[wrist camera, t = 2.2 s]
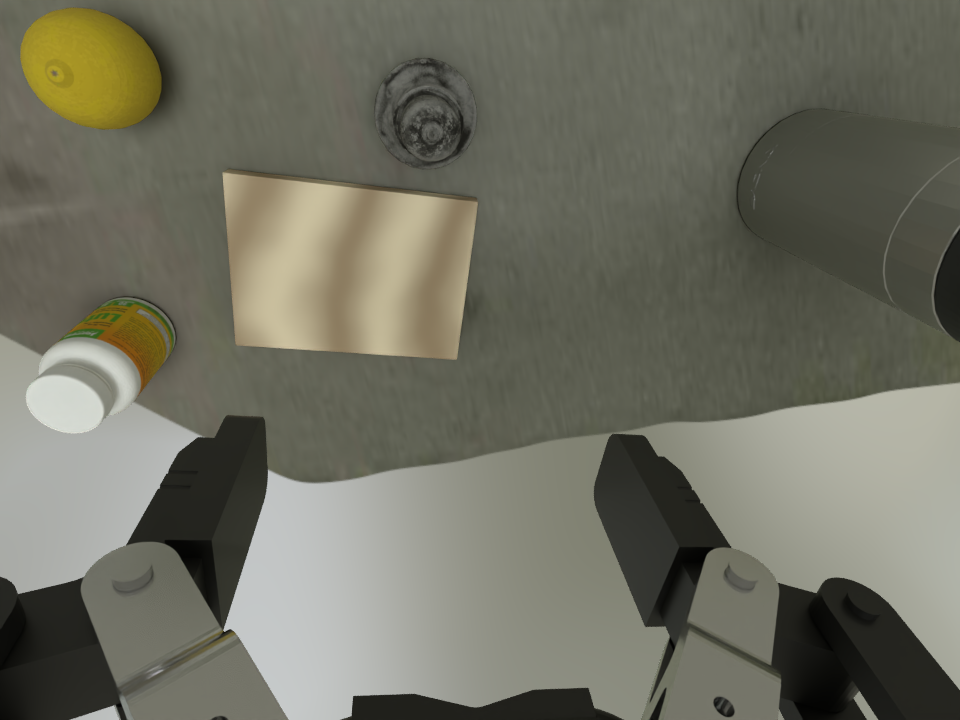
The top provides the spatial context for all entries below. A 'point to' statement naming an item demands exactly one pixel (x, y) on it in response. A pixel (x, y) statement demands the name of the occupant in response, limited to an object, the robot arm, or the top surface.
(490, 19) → the top surface
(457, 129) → the salt shaker
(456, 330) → the birch board
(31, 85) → the lemon
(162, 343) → the supplement bottle
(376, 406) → the top surface
